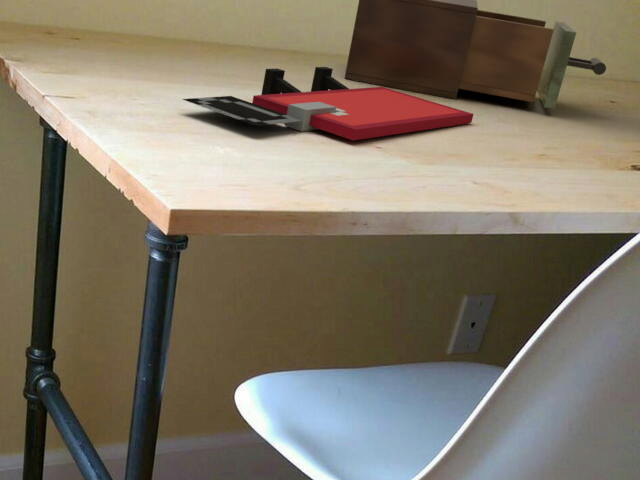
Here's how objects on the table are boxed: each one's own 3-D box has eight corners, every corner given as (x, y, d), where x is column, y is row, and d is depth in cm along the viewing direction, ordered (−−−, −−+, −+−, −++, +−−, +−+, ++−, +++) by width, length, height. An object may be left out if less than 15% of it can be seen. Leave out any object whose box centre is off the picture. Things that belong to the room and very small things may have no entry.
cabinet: (457, 82, 117) (477, 0, 113) (455, 99, 104) (478, 7, 100) (357, 63, 119) (373, -17, 115) (344, 78, 106) (361, -12, 102)
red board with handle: (164, 104, 78) (299, 153, 69) (168, 72, 76) (306, 118, 68) (351, 90, 100) (470, 127, 92) (356, 65, 99) (477, 100, 90)
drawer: (584, 99, 114) (605, 29, 110) (597, 117, 102) (621, 39, 98) (449, 74, 116) (465, 5, 113) (447, 89, 105) (465, 13, 101)
